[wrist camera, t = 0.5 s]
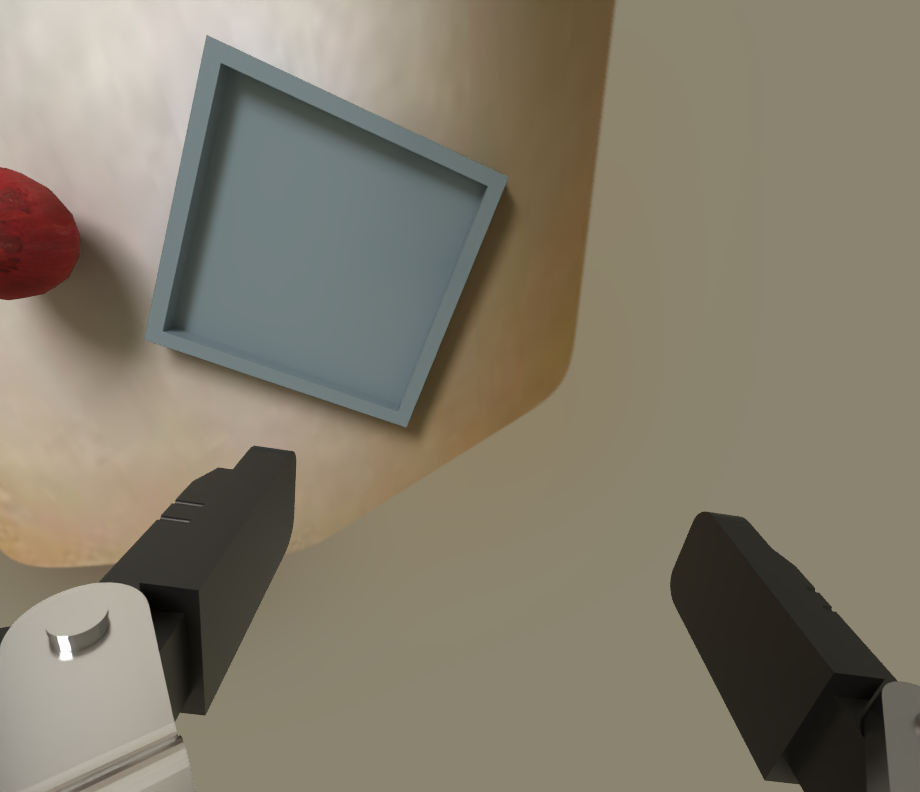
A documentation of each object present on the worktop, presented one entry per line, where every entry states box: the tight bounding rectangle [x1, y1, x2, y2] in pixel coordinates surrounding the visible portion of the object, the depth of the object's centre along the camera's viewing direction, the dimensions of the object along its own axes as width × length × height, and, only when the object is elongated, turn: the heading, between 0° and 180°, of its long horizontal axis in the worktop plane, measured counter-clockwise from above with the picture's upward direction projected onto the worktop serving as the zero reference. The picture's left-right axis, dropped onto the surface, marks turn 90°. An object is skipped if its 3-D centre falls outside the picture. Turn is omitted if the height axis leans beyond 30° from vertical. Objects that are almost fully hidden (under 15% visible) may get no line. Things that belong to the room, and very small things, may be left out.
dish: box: [144, 35, 509, 427], centre depth 27 cm, size 15×15×2 cm
